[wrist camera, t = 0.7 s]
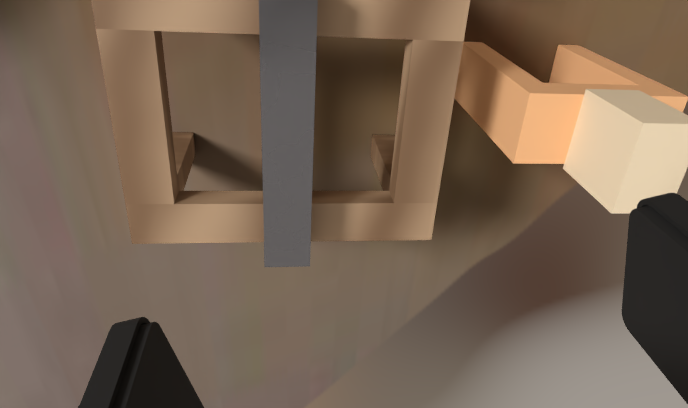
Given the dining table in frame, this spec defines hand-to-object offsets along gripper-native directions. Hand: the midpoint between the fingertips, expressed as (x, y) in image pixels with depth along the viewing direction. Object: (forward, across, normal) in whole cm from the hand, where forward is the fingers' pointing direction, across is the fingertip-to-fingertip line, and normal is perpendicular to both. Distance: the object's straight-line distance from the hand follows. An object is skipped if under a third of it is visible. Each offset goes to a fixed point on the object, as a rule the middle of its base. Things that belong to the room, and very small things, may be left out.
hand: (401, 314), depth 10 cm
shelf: (+30, +3, +2) cm, 30 cm away
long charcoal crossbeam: (+17, +3, +2) cm, 18 cm away
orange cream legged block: (+30, -14, +7) cm, 33 cm away
